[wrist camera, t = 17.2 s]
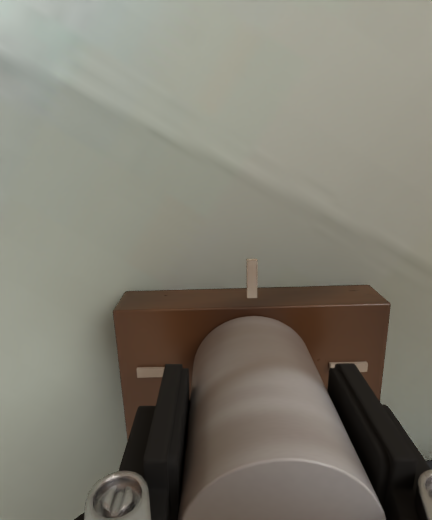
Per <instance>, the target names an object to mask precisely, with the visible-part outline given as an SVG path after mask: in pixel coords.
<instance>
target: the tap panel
mask: <svg viewBox="0 0 432 520" xmlns="http://www.w3.org/2000/svg"><path fill="white" fill-rule="evenodd" d="M389 314H390V303H389V302H388V301H387V300H386V299H385V298H384V297H382V296H381V295H380V294H379V293H378V292H377V291H375V290H374V289H373V288H372V287H371V286H370V285H346V286H309V287H272V288H257V259H247V288H234V289H197V290H160V291H126V292H125V293H124V295H123V296H122V298H121V299H120V301H119V303H118V304H117V306H116V307H115V309H114V310H113V317H114V326H115V334H116V343H117V352H118V361H119V369H120V378H121V387H122V396H123V405H124V413H125V422H126V431H127V440H128V438H129V435H130V432H131V428H132V425H133V422H134V418H135V415H136V412H137V409H138V407H139V406H156V402H157V398H158V394H159V390H160V385H161V381H162V377H163V372H164V368H165V364H182V365H183V368H189V396H190V393H191V383H192V373H193V363H194V359H195V355H196V352H197V350H198V348H199V346H200V344H201V343H202V341H203V340H204V338H205V337H206V336H207V335H208V334H209V333H210V332H211V331H213V330H214V329H215V328H216V327H218V326H220V325H221V324H223V323H225V322H227V321H230V320H232V319H236V318H240V317H245V316H262V317H267V318H272V319H275V320H278V321H280V322H282V323H284V324H286V325H287V326H289V327H290V328H292V329H293V330H294V331H295V332H296V333H297V334H298V335H299V336H300V337H301V338H302V340H303V341H304V343H305V345H306V347H307V349H308V351H309V353H310V355H311V357H312V360H313V362H314V364H315V366H316V368H317V370H318V372H319V374H320V376H321V379H322V381H323V383H324V385H325V387H326V389H327V388H328V377H329V370H330V368H335V365H336V364H337V363H353V364H355V365H356V366H357V368H358V369H359V371H360V372H361V374H362V375H363V377H364V379H365V380H366V382H367V383H368V385H369V386H370V388H371V389H372V391H373V392H374V394H375V395H376V397H377V398H378V400H379V401H380V394H381V385H382V377H383V368H384V359H385V350H386V341H387V332H388V323H389Z"/></svg>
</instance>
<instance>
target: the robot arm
mask: <svg viewBox="0 0 432 520" xmlns="http://www.w3.org/2000/svg"><path fill="white" fill-rule="evenodd" d="M327 391H328V393H329V396H330V398H331V400H332V402H333V404H334V406H335V408H336V410H337V412H338V415H339V417H340V419H341V421H342V423H343V425H344V427H345V429H346V432H347V434H348V436H349V438H350V440H351V442H352V444H353V446H354V449H355V451H356V453H357V455H358V457H359V459H360V461H361V463H362V465H363V468H364V470H365V472H366V474H367V476H368V478H369V480H370V482H371V485H372V487H373V489H374V491H375V493H376V495H377V497H378V499H379V501H380V504H381V506H382V508H383V510H384V512H385V516H386V520H432V470H431V468H430V467H429V466H428V464H427V463H426V461H425V460H424V458H423V457H422V455H421V454H420V452H419V451H418V449H417V448H416V446H415V445H414V443H413V442H412V441H411V439H410V438H409V436H408V435H407V433H406V432H405V430H404V429H403V427H402V426H401V424H400V423H399V421H398V420H397V419H396V417H395V416H394V414H393V413H392V411H391V410H390V409H389V407H388V406H386V405H382V404H381V403H380V401H379V400H378V398H377V397H376V395H375V394H374V392H373V391H372V389H371V388H370V386H369V385H368V383H367V382H366V380H365V379H364V377H363V375H362V374H361V372H360V371H359V369H358V368H357V366H356V365H355V364H353V363H337V364H336V365H335V368H330V370H329V377H328V388H327ZM189 403H190V396H189V368H183V365H182V364H165V368H164V372H163V377H162V381H161V385H160V390H159V394H158V398H157V402H156V406H139V407H138V409H137V412H136V415H135V418H134V422H133V425H132V428H131V432H130V435H129V438H128V442H127V445H126V448H125V452H124V455H123V458H122V462H121V465H120V468H119V471H117V472H114V473H111V474H108V475H106V476H105V477H103V478H101V479H100V480H99V481H98V482H97V483H96V484H94V485H93V487H92V488H91V490H90V491H89V493H88V496H87V499H86V503H85V512H84V513H83V514H81V515H80V516H79V517H77V518H76V519H74V520H178V513H179V503H180V493H181V483H182V473H183V463H184V453H185V443H186V433H187V423H188V413H189Z"/></svg>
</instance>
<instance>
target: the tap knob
mask: <svg viewBox="0 0 432 520" xmlns="http://www.w3.org/2000/svg"><path fill="white" fill-rule="evenodd" d="M178 520H386V516H385V512H384V510H383V508H382V506H381V504H380V501H379V499H378V497H377V495H376V493H375V491H374V489H373V487H372V485H371V482H370V480H369V478H368V476H367V474H366V472H365V470H364V468H363V465H362V463H361V461H360V459H359V457H358V455H357V453H356V451H355V449H354V446H353V444H352V442H351V440H350V438H349V436H348V434H347V432H346V429H345V427H344V425H343V423H342V421H341V419H340V417H339V415H338V412H337V410H336V408H335V406H334V404H333V402H332V400H331V398H330V396H329V393H328V391H327V389H326V387H325V385H324V383H323V381H322V379H321V376H320V374H319V372H318V370H317V368H316V366H315V364H314V362H313V360H312V357H311V355H310V353H309V351H308V349H307V347H306V345H305V343H304V341H303V340H302V338H301V337H300V336H299V335H298V334H297V333H296V332H295V331H294V330H293V329H292V328H290V327H289V326H287V325H286V324H284V323H282V322H280V321H278V320H275V319H272V318H267V317H262V316H245V317H240V318H236V319H232V320H230V321H227V322H225V323H223V324H221V325H220V326H218V327H216V328H215V329H214V330H213V331H211V332H210V333H209V334H208V335H207V336H206V337H205V338H204V340H203V341H202V343H201V344H200V346H199V348H198V350H197V352H196V355H195V359H194V363H193V373H192V383H191V393H190V403H189V413H188V423H187V433H186V443H185V453H184V463H183V473H182V483H181V493H180V503H179V513H178Z"/></svg>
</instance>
